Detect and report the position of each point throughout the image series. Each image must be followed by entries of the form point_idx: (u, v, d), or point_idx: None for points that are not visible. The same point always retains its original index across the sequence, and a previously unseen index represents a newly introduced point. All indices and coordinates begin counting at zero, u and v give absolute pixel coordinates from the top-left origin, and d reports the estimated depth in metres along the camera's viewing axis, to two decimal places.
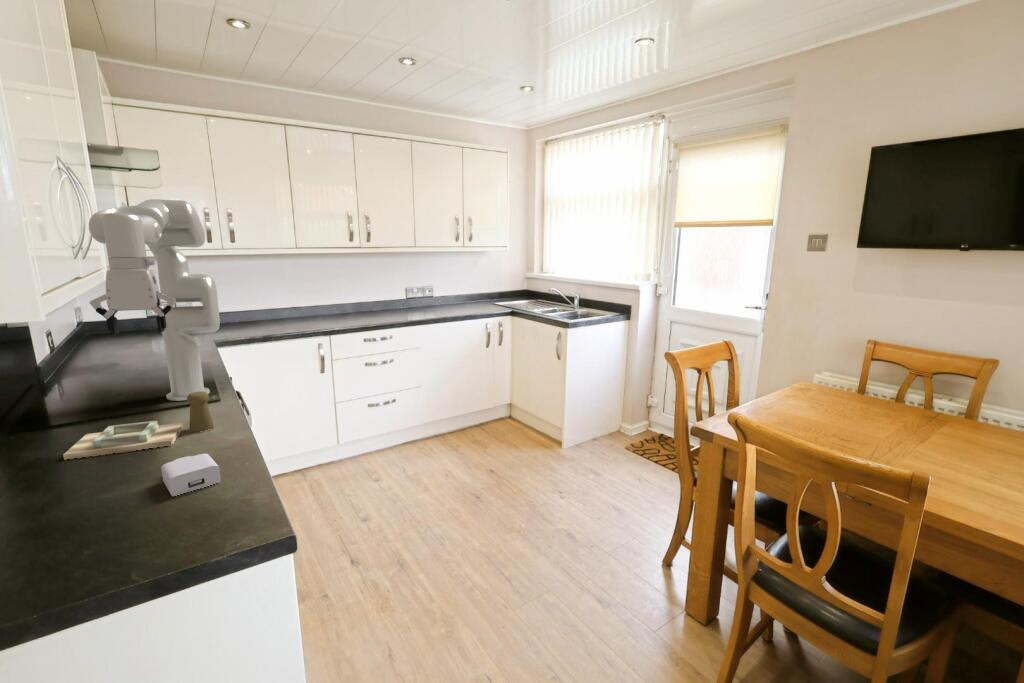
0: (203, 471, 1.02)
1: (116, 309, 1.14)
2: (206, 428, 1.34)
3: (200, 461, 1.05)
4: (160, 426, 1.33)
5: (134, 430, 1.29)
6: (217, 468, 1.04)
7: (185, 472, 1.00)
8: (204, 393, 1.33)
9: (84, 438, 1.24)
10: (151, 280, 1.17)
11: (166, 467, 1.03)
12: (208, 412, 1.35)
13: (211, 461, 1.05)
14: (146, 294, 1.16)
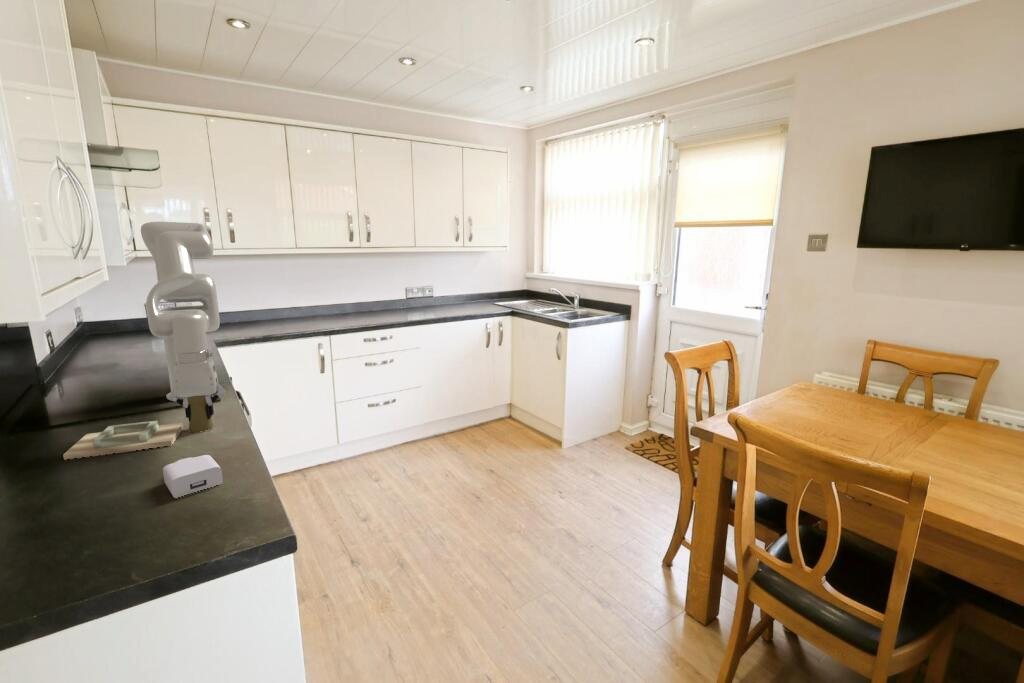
0: (205, 472, 1.01)
1: (182, 397, 1.30)
2: (206, 428, 1.33)
3: (202, 462, 1.05)
4: (160, 426, 1.33)
5: (134, 430, 1.29)
6: (219, 469, 1.03)
7: (187, 473, 0.99)
8: None
9: (84, 438, 1.24)
10: (212, 370, 1.32)
11: (168, 468, 1.02)
12: None
13: (213, 462, 1.05)
14: (208, 382, 1.32)
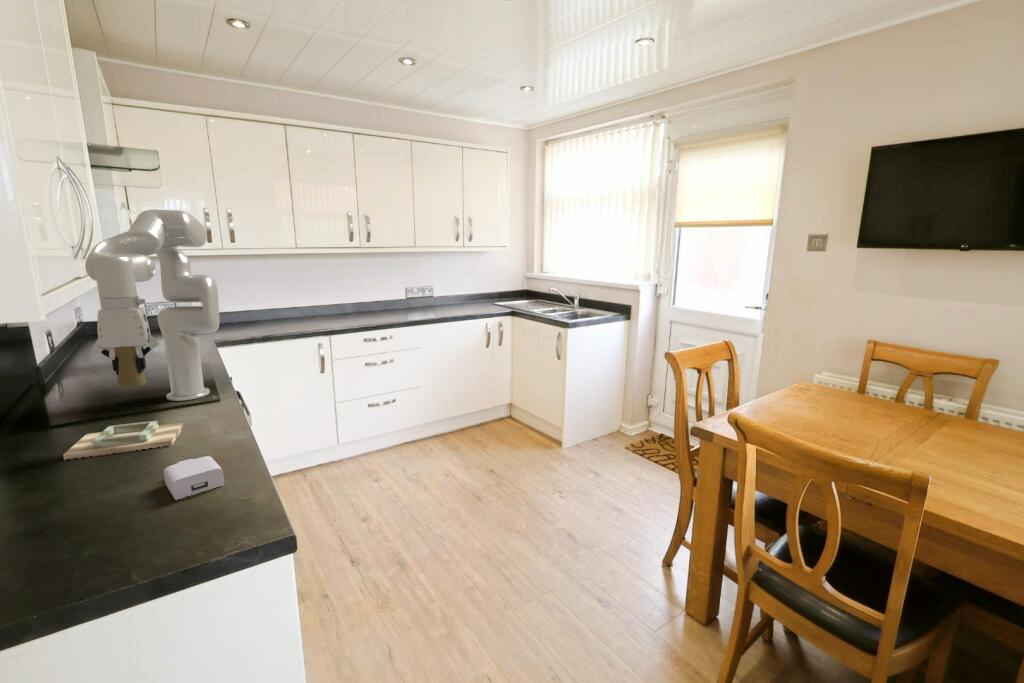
0: (206, 474, 1.01)
1: (108, 347, 1.19)
2: (136, 383, 1.22)
3: (203, 463, 1.04)
4: (160, 426, 1.33)
5: (134, 430, 1.29)
6: (220, 471, 1.03)
7: (188, 475, 0.99)
8: None
9: (84, 438, 1.24)
10: (142, 318, 1.21)
11: (169, 470, 1.01)
12: None
13: (214, 464, 1.04)
14: (137, 332, 1.20)
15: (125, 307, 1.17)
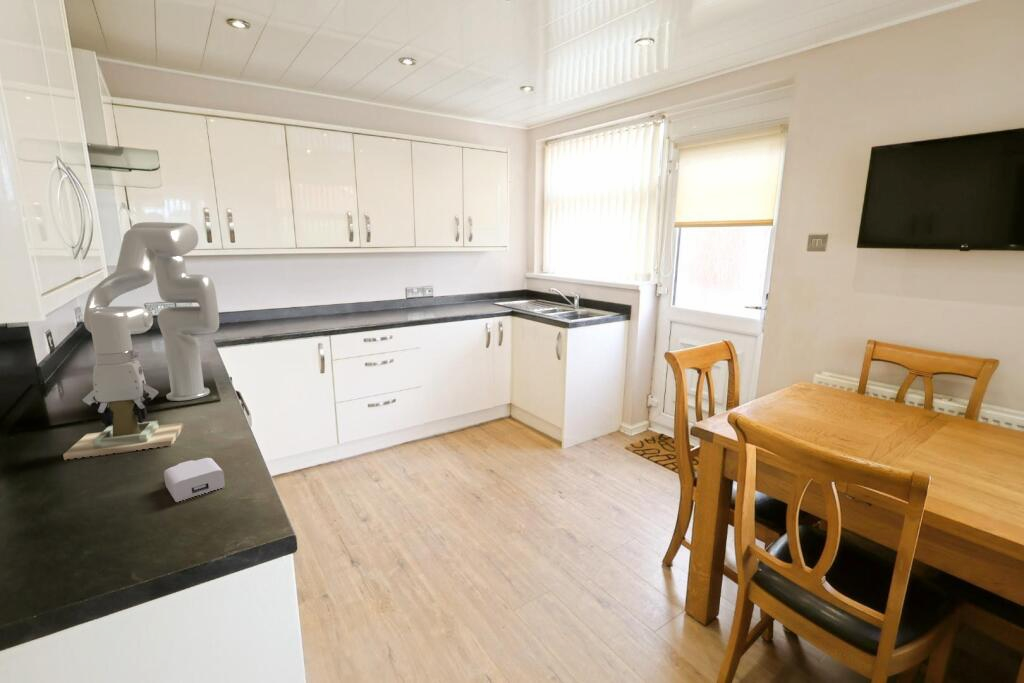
0: (207, 476, 1.00)
1: (103, 401, 1.20)
2: None
3: (204, 465, 1.03)
4: (160, 426, 1.33)
5: None
6: (221, 473, 1.02)
7: (189, 477, 0.98)
8: None
9: (84, 438, 1.24)
10: (137, 372, 1.22)
11: (169, 471, 1.00)
12: (133, 419, 1.24)
13: (215, 465, 1.03)
14: (132, 386, 1.21)
15: (120, 362, 1.19)
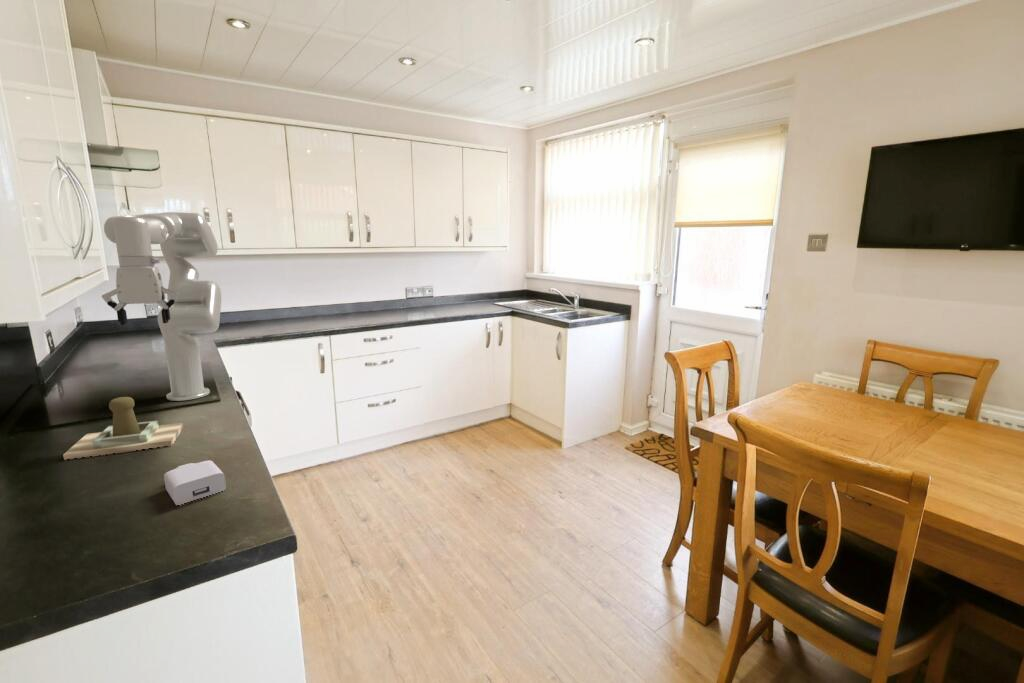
0: (208, 479, 0.99)
1: (125, 302, 1.28)
2: None
3: (205, 468, 1.02)
4: (160, 426, 1.33)
5: None
6: (222, 476, 1.01)
7: (189, 480, 0.97)
8: (128, 399, 1.23)
9: (84, 438, 1.24)
10: (156, 276, 1.30)
11: (169, 474, 0.99)
12: (133, 419, 1.24)
13: (216, 468, 1.02)
14: (152, 289, 1.30)
15: (141, 265, 1.27)
